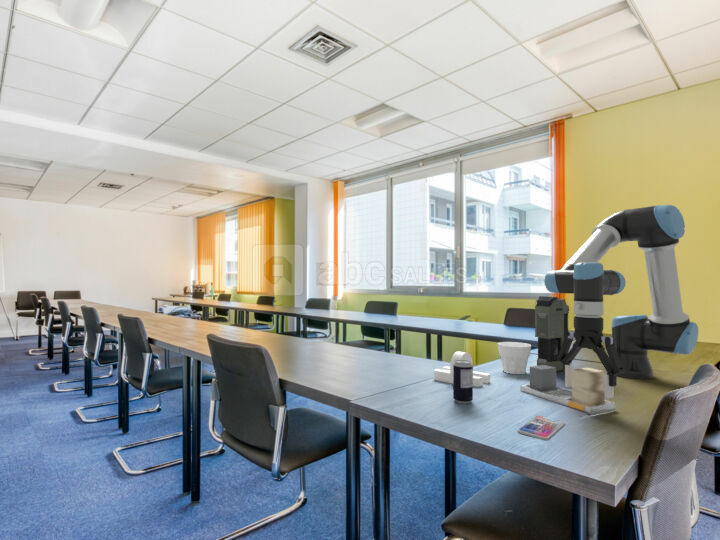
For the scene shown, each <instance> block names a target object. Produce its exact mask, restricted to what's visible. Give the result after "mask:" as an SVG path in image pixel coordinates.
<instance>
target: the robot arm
mask: <svg viewBox="0 0 720 540" xmlns="http://www.w3.org/2000/svg"><path fill="white" fill-rule="evenodd" d="M684 220H685V219H684V216H683V214H682V213H681V211H680V209H678V207H677V206H675V205H672V204H665V205H663V204H661V205H660V204H657V205H651V206H645V207H638V208H636V207H635V208H628V209H623V210H620V211H617V212H614V213H613V214H611V215H609V216H607V217H606V218H605V219H603V220H602V221H601V222H599V223H598V224H597V225H596V226H595V227H594V228H593V230H592V231H591V235H590V237H588V239H587V240H586V241H585V242H584V243H583V244H582V245H581V246H580V247H579V249H578V250H577V251H576V252H575V253H574V254H573V255H572V256H571V257H570V258H569V259H568V260H567V261H566V262H565V264H563V266H561V268H560V269H559V270H557V269H555V270H548V271H547V272H546V274H545V276H544V286H545V289H546V290H547V291H548V292H549V293H556V294H573V315H574V317H573V329H574V331H572V330H567V331H565V332H564V341H563V343H562V346H561V349H560V351H559V354H558V357H557V360H558V361H560V362H562V363H563V372H562V374H563V375H564V388H572V369H574V364H573V361H574V359H576V357H577V355H578V354H579V353H580V351H581V350H582V349H588V350H592V351H593V352H594V353H595V354H596V356H597V357H598V359H599V361H600V362H601V364H602V366H603V367H604V369H605V372H606V373H605V399H606V400H607V399H612V398H614V397H615V393H614V392H615V390H614V387H617V382H618V381H617V377H623V378H630V379H637V380H638V379H641V380H644V379H645V380H646V379H647V380H648V379H653V378H654V370H653V366H652V364H651V362H650V359H649V357H648V356H649V355H648V351H653V352H660V353H666V354H667V353H669V354H673V355H689V354H691V353H692V352H693V351H694V350H695V348H696V345H697V342H698V338H699V326H698V324H697V323H696V322H694V321H691V320H690V315H689V314H688V313H686V312H685V311H684V310H683V305H682V304H683V302H682V295H681V288H680V280H679V273H678V267H677V266H678V265H677V259H676V252H675V247H676V246H677V245H678V244H679V243H680V238H683V237H684V235H685V231H686V230H685V228H686V226H685V221H684ZM624 242H637V245H638V246H637V247H638V248H639V249H641V250H642V251H643V253H644V259H645V265H646V272H647V273H646V274H647V280H648V287H649V293H650V300H651V301H650V302H651V307H652V313H651V315H649V316H648V314H635V315H631V314H630V315H629V314H628V315H616V316H614V317H613V318H612V321H611V336H604V334H603V330H604V318H603V317H602V316H604V315H605V314H604V296H614V295H617V294H620V293H621V292H623V290H624V289H625V288H626V283H627V282H626V278H625V276H624V275H623V274H622V272H619V271H616V270H613V269H604V265H603V263H601V262H600V261H601V260H602V258H604V256H605V255H606V254H607V253H608V252H609V250H610V249H612V248H615V247H617V246H618V245H619V244H620V243H624ZM574 339H575V341H574ZM573 341H574V342H573ZM602 343H603V344H604V345H603V344H602ZM571 346H572V347H571Z"/></svg>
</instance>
